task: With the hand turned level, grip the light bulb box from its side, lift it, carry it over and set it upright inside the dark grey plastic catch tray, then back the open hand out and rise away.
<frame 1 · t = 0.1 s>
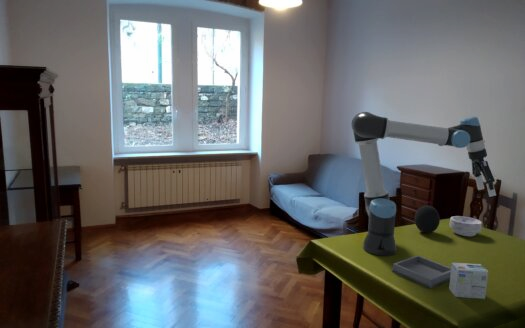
hand: (486, 192, 184), 28 cm above the table, tool tilted 20°, fingers open, 13 cm apart
paper bowls: (464, 234, 210), on the table
decorative egg: (425, 232, 210), on the table
light bulb box: (466, 294, 143), on the table
catch tray: (423, 274, 158), on the table
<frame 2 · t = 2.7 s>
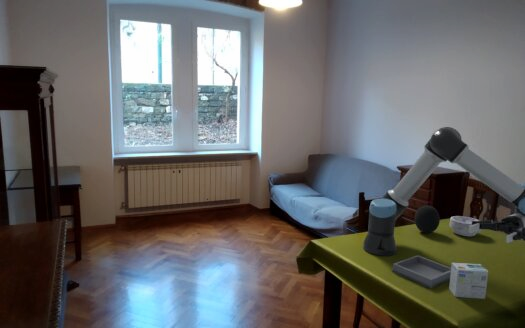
hand: (487, 234, 147), 21 cm above the table, tool horizontal, fingers open, 13 cm apart
nothing on the table moved.
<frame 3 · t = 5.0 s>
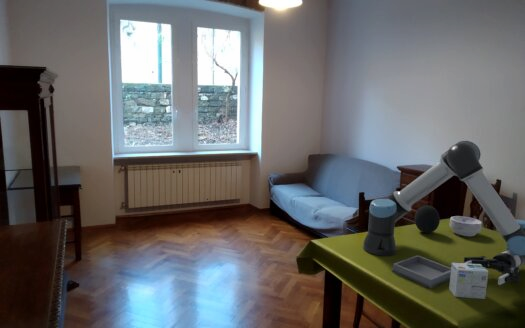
hand: (479, 274, 146), 6 cm above the table, tool horizontal, fingers open, 13 cm apart
nothing on the table moved.
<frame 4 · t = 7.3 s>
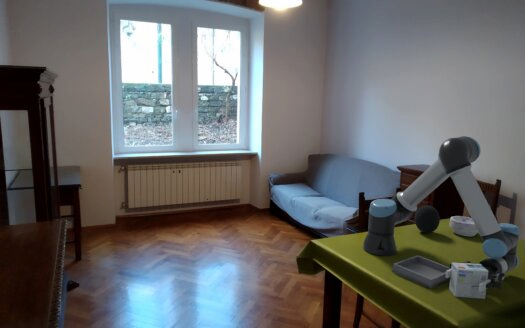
hand: (462, 280, 140), 6 cm above the table, tool horizontal, fingers closed on light bulb box, 11 cm apart
light bulb box: (466, 294, 143), on the table, touching gripper
everything else where it was.
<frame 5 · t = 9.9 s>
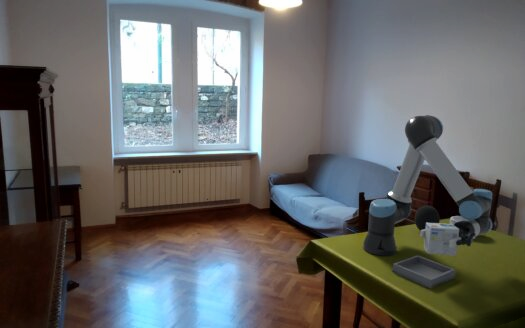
hand: (435, 238, 148), 18 cm above the table, tool horizontal, fingers closed on light bulb box, 11 cm apart
light bulb box: (439, 252, 152), point 12 cm above the table, touching gripper
everything else where it was.
when the fingers open (9 cm above the table, at t = 12.6 s): light bulb box drops 2 cm, resting on catch tray.
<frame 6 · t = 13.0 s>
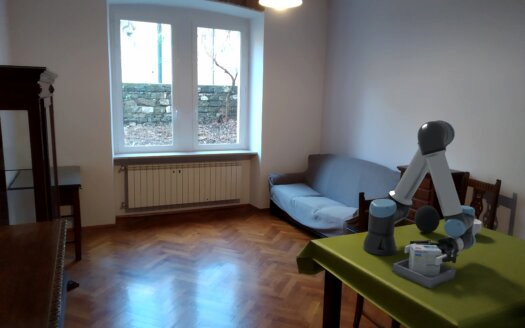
hand: (420, 255, 155), 9 cm above the table, tool horizontal, fingers open, 13 cm apart
light bulb box: (423, 272, 158), point 1 cm above the table, touching catch tray
everything else where it was.
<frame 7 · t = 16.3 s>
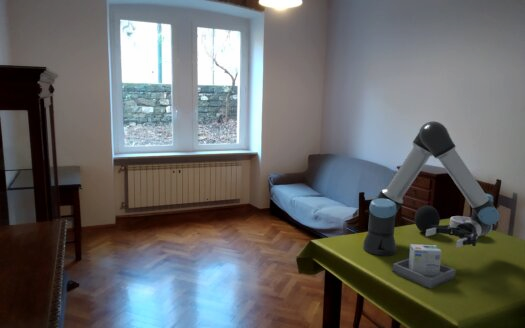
hand: (441, 238, 161), 14 cm above the table, tool horizontal, fingers open, 13 cm apart
nothing on the table moved.
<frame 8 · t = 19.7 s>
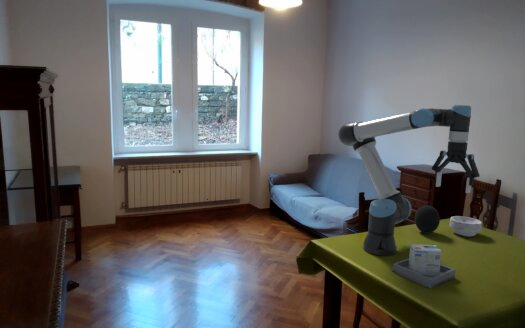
hand: (452, 189, 171), 32 cm above the table, tool pointing down, fingers open, 13 cm apart
nothing on the table moved.
at the end: light bulb box inside the target area on the catch tray (0.1 cm from its centre), point 0.8 cm above the catch tray's base; light bulb box tilted 0°; the gripper is holding nothing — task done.
